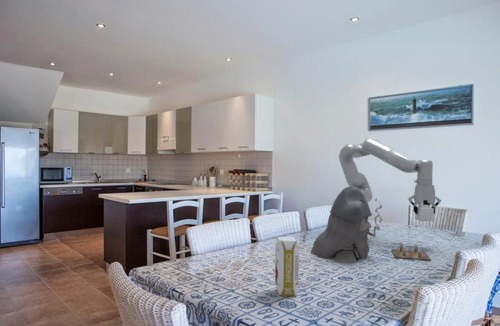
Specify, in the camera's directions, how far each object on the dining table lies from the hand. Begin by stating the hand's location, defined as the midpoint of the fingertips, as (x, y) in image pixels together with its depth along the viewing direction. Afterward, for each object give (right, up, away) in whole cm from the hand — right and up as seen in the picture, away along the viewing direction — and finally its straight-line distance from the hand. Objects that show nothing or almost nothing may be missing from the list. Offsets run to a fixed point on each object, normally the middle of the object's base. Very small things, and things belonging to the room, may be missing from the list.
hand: (424, 213), depth 188 cm
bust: (-48, -19, -14) cm, 53 cm away
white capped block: (0, -4, 0) cm, 4 cm away
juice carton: (-84, -18, -68) cm, 109 cm away
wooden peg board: (-14, -19, -14) cm, 28 cm away
